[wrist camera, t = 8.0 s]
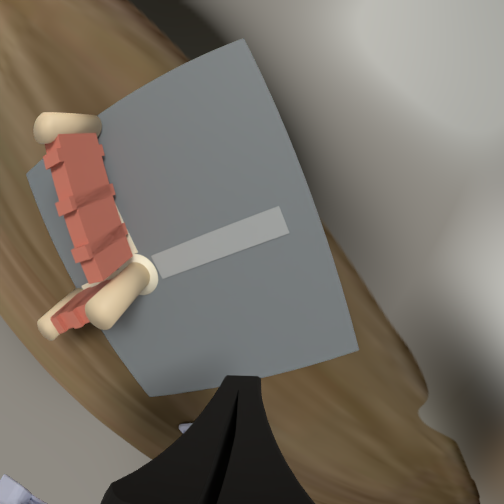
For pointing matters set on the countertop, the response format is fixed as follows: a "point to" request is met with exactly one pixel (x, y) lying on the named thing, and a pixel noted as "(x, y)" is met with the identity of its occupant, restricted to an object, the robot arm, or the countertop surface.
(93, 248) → the fence panel
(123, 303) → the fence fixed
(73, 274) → the board
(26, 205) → the countertop surface
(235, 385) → the robot arm
